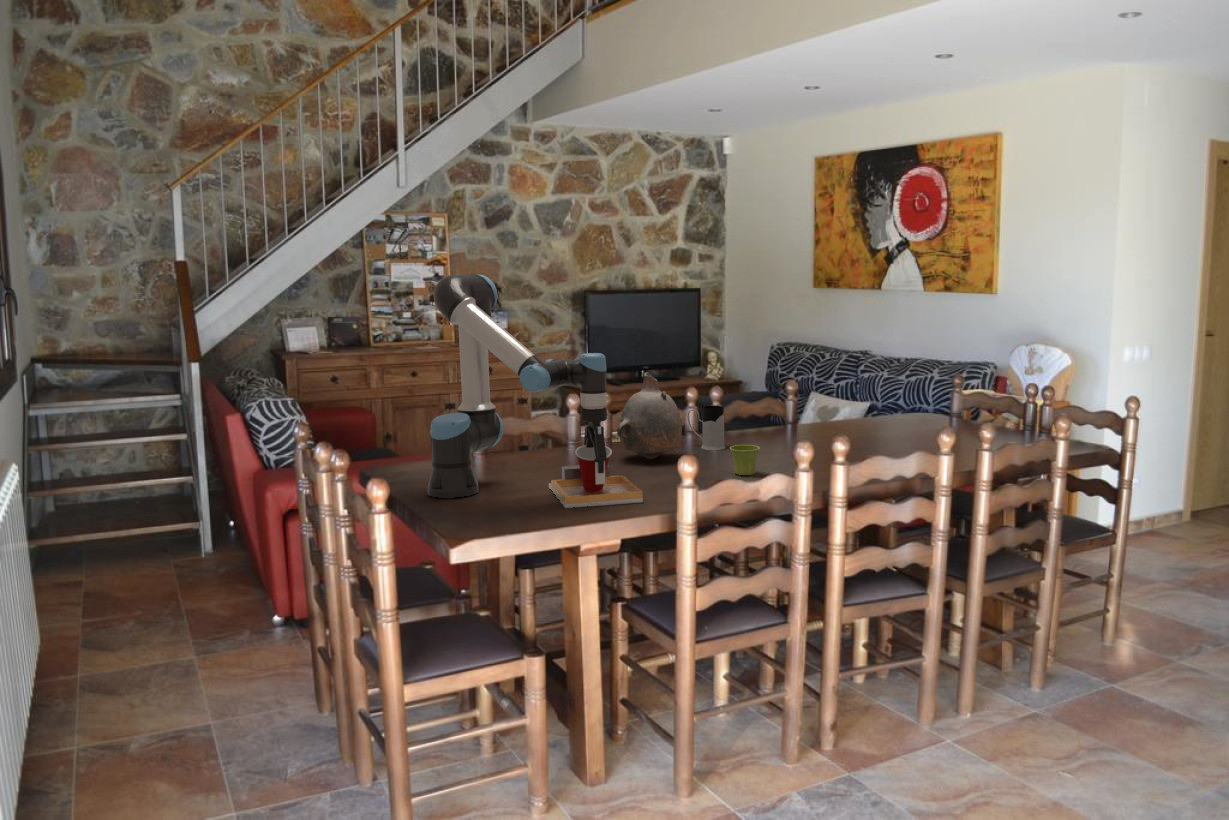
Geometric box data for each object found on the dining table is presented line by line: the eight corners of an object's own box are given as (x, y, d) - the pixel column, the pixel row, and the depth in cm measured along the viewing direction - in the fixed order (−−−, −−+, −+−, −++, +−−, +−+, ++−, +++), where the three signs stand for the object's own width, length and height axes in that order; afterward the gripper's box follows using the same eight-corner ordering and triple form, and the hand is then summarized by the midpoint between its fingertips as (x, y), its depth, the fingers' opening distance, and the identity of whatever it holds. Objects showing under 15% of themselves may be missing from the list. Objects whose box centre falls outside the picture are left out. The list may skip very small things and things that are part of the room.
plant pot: (758, 477, 316) (758, 450, 315) (728, 477, 318) (728, 450, 316) (760, 471, 325) (760, 445, 324) (731, 470, 327) (731, 444, 326)
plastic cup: (570, 493, 294) (571, 454, 290) (579, 480, 304) (579, 442, 300) (607, 496, 292) (608, 458, 288) (614, 483, 302) (615, 445, 298)
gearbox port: (565, 508, 282) (564, 486, 281) (548, 487, 308) (548, 467, 307) (642, 502, 287) (642, 481, 286) (619, 482, 313) (619, 462, 312)
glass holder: (720, 450, 360) (720, 409, 358) (683, 448, 366) (683, 407, 364) (728, 446, 368) (728, 405, 366) (692, 444, 374) (691, 404, 372)
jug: (663, 468, 331) (662, 378, 327) (606, 463, 342) (605, 375, 337) (694, 455, 352) (694, 370, 348) (640, 450, 363) (639, 367, 358)
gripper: (616, 412, 280) (617, 487, 283) (597, 400, 304) (598, 469, 307) (590, 413, 278) (591, 489, 281) (572, 401, 302) (574, 471, 305)
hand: (595, 478), depth 294 cm, fingers open, 13 cm apart
